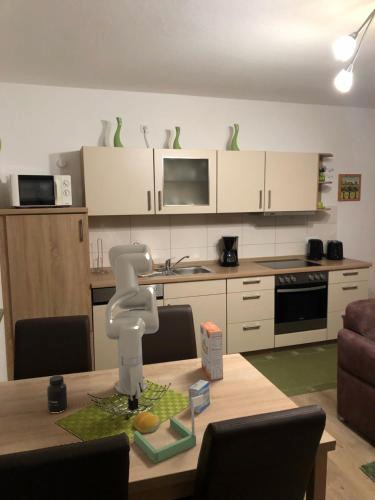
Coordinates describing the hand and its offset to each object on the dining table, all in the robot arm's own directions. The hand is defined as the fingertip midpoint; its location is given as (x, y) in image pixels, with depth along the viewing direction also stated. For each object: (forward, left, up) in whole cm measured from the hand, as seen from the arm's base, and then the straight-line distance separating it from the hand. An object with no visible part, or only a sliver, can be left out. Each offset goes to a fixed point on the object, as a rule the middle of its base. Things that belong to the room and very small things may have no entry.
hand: (133, 409), depth 137 cm
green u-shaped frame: (+21, +2, -2) cm, 22 cm away
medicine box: (+11, +21, -2) cm, 24 cm away
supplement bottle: (-19, -21, -2) cm, 29 cm away
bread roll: (+10, 0, -2) cm, 10 cm away
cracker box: (-9, +42, -2) cm, 43 cm away
